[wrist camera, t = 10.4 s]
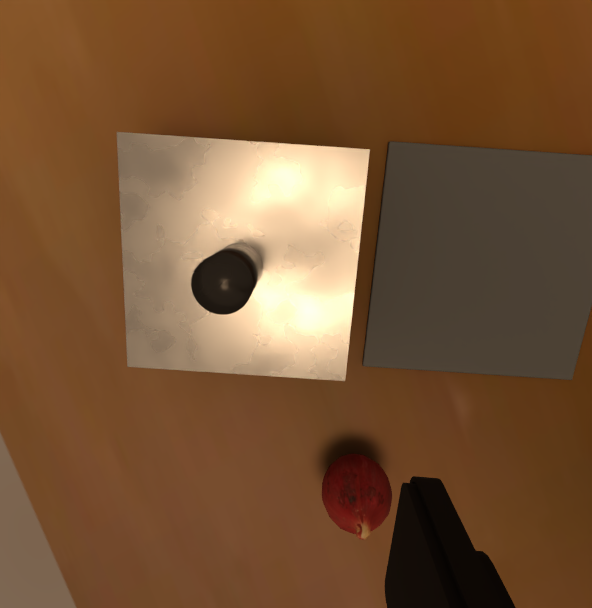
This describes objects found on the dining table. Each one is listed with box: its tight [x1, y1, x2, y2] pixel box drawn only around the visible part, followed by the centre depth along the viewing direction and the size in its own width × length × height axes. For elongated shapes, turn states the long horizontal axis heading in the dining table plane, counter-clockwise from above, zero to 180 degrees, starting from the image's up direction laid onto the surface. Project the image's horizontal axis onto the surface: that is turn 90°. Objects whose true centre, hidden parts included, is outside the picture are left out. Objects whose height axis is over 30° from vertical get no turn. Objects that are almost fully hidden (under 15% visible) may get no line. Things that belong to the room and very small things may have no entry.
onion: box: [322, 453, 392, 539], centre depth 33 cm, size 6×6×8 cm
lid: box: [117, 132, 370, 381], centre depth 23 cm, size 15×15×7 cm
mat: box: [363, 142, 592, 380], centre depth 32 cm, size 18×18×1 cm
